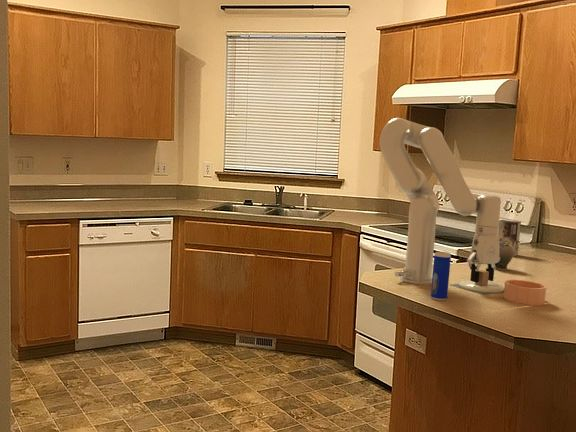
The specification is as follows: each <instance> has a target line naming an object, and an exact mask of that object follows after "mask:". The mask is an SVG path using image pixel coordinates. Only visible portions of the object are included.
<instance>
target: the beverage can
mask: <svg viewBox="0 0 576 432" xmlns="http://www.w3.org/2000/svg"><path fill="white" fill-rule="evenodd" d="M451 259H452V256H451V252H448V251H435V252H434V254H433V264H432V275H431V277H432V284H431V288H430V289H431V291H430V298H431V299H433V300H436V301H446V300H447V299H448V292H449V281H450V273H451V272H450V269H451Z"/></svg>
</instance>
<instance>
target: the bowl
mask: <svg viewBox="0 0 576 432" xmlns="http://www.w3.org/2000/svg"><path fill="white" fill-rule="evenodd" d="M503 287H504V292H503V298H504V299H505V300H506V301H510V302H512V303H517V304H521V305H522V304H523V305H530V306H531V307H532V306H534V307H535V306H536V307H539V306H545V303H546V297H547V288H548V286H547V285H545V284H544V283H540V282H535V281H532V280H531V281H530V280H524V279H523V280H522V279H509V280H508V279H507V280H505V282H504V286H503Z"/></svg>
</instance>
